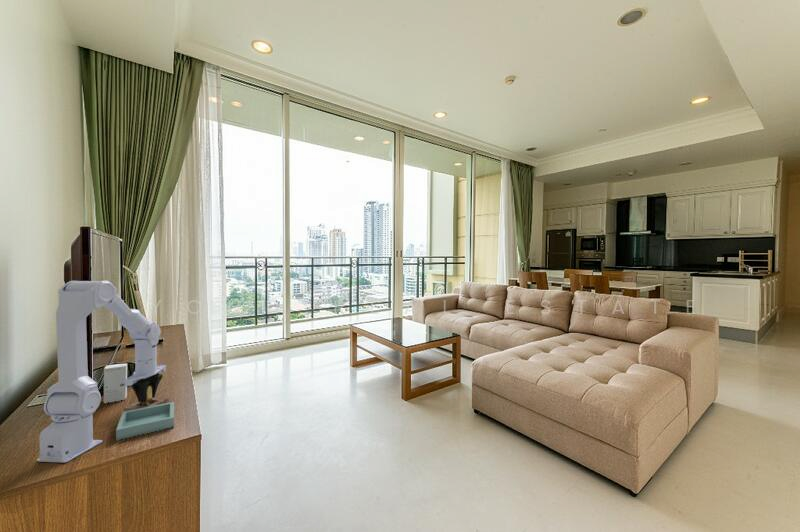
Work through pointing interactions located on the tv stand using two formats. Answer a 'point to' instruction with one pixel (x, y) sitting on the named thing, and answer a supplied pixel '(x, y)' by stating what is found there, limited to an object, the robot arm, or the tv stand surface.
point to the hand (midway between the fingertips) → (146, 399)
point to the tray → (145, 420)
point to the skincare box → (115, 382)
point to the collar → (154, 402)
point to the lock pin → (148, 397)
